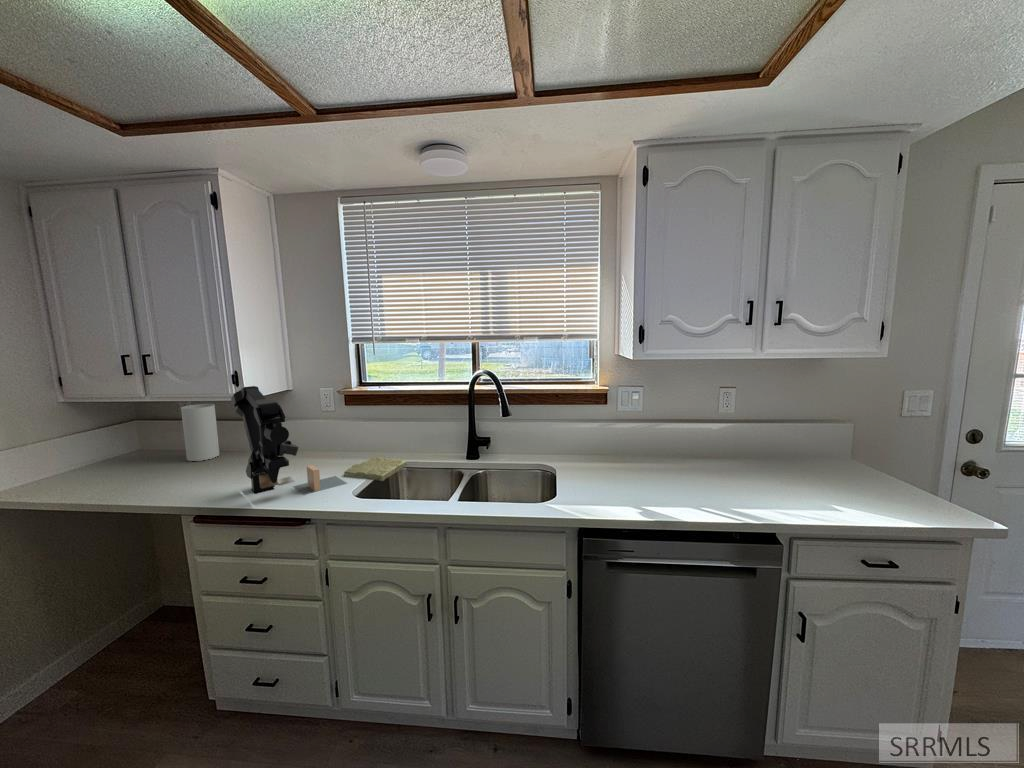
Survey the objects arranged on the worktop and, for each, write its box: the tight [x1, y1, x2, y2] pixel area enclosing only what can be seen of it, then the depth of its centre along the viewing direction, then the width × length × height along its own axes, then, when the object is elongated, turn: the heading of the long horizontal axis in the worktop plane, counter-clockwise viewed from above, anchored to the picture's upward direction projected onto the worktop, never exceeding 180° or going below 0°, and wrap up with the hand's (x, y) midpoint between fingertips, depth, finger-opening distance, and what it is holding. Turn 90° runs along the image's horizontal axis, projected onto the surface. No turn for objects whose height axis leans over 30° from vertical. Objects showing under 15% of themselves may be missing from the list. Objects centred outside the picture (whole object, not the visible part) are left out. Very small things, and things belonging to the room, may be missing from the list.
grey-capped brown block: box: [259, 474, 295, 488], centre depth 146 cm, size 10×5×4 cm, turn 134°
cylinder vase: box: [180, 403, 220, 462], centre depth 194 cm, size 12×12×25 cm
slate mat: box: [292, 475, 348, 496], centre depth 158 cm, size 16×12×1 cm
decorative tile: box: [343, 457, 408, 482], centre depth 175 cm, size 19×20×4 cm
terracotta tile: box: [306, 464, 321, 492], centre depth 154 cm, size 2×7×8 cm, turn 44°
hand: (273, 481), depth 145 cm, fingers closed on grey-capped brown block, 2 cm apart
